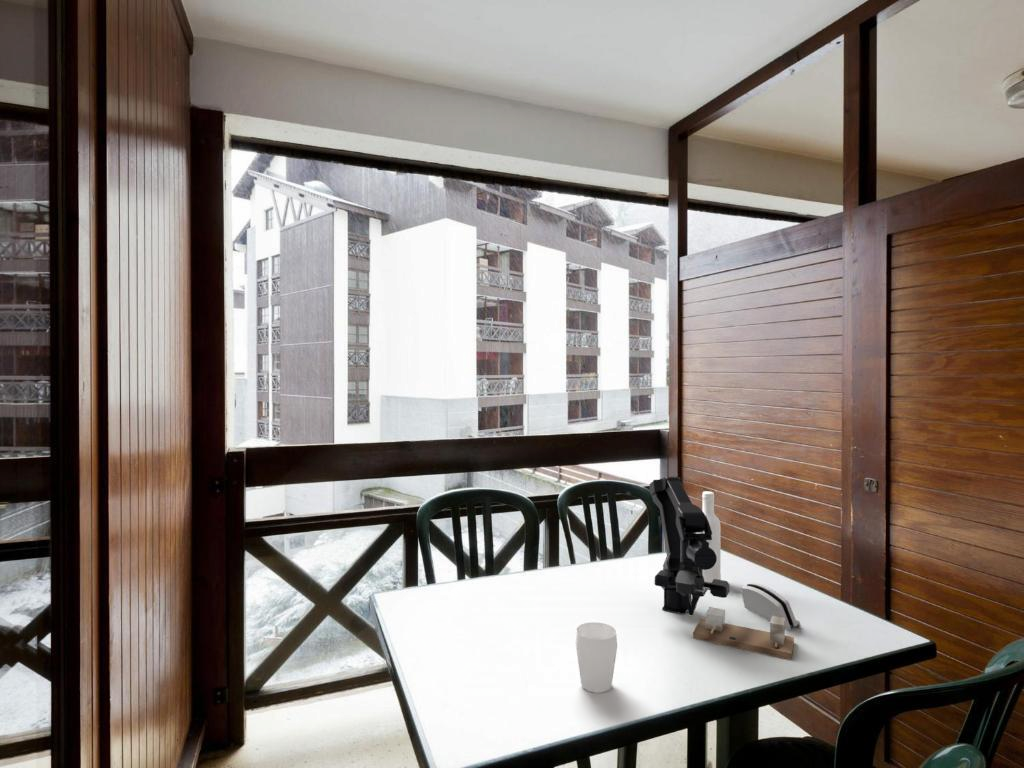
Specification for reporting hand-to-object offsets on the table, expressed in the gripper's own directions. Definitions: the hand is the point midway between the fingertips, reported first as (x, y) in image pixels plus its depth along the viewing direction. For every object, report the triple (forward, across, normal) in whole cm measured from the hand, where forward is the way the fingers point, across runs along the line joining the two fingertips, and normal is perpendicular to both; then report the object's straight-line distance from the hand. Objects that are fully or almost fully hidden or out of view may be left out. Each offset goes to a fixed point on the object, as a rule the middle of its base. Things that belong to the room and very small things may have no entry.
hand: (691, 614), depth 154 cm
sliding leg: (+2, +6, -1) cm, 7 cm away
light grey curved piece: (+4, +17, +18) cm, 25 cm away
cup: (+4, -12, -40) cm, 42 cm away
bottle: (+4, -3, +38) cm, 38 cm away
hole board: (+4, +13, -1) cm, 14 cm away
